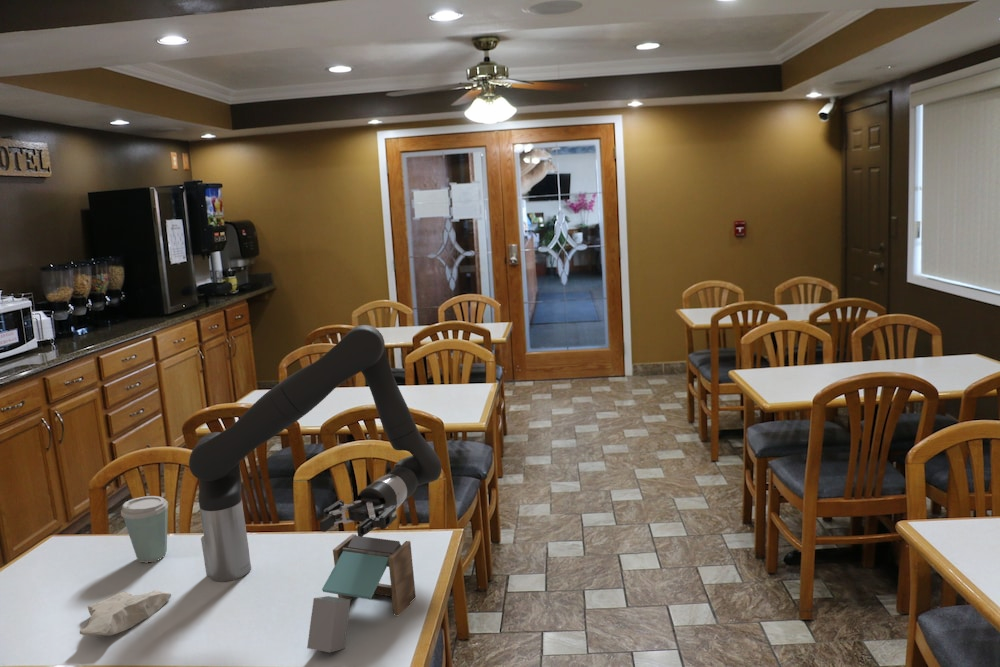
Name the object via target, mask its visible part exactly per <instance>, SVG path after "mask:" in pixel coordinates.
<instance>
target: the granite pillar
mask: <svg viewBox="0 0 1000 667" xmlns="http://www.w3.org/2000/svg"><path fill="white" fill-rule="evenodd" d="M350 605H351V600H350V599H344V598H338V596H337V597H336V596H329V595H326V596H319V597H314V598H313V602H312V607H311V617H310V625H309V630H308V631H309V632H308V638H307V645H306V646H307V647H306V648H307V649H309V650H315V651H321V652H325V653H326V652H327V653H333V652H337V651H340V650H344V649H345V647H346V646H345V645H346V638H347V637H346V636H347V632H348V631H347V630H348V621H349V614H350V613H349V612H350Z"/></svg>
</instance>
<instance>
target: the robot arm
mask: <svg viewBox="0 0 1000 667" xmlns="http://www.w3.org/2000/svg"><path fill="white" fill-rule="evenodd" d="M359 373H361V374H362V375H363V378H364V379H365V381H366V383H367V385H368V387H369V390H370V393H371V396H372V398H373V401H374V405H375V408H376V412H377V415H378V417H379V421H380V423H381V425H382V428H383V429H384V432H385V435H386V436H387V439H388V441H389V443H390V446H391V447H392V448H393V450H394V451H401V452H402V451H403V452H404V451H406V452H408V453H410V456H406V457H403V458H402V459H400V460H399V461H397V462H396V463H395V465H394V466H393V467H392V469H391V470H390V471H389V472H388V473H386V474H385V475H383V476H381V477H379V478H377V479H376V480H375V481H373V482H372V483H371V484H369V485H367V486H366V487H365V488H363V489H362V490H361V491H360V492H359V493H358V495H357V497H356V498H355V501H352V502H349V503H348V504H347V503H345V501H344V499H339V500H337V501H335V502H334V503H333V504H331V505H330V506H328V507H326V508H324V509H323V517H324V518H323V519H322V520H320V521H319V527H320V532H324V533H325V532H327V531H329V530H330V529H331V528H333V527H335V525H338V524H341V523H343V525H346V524H350V523H352V522H360V523H359V524H358V525H357V527H356V530H357V536H360V537H365V536H366V535H368V533H370V532H371V531H372V530H377V528H379V529H380V530H385V529H387V528H388V527H389V526H390V525H391V524H393V522H394V521H395V520H396V519H397V518H398V517H397V509H398V508H399V507H401V505H402V504H403V502H405V501H406V500H407V499H408V498H411V496H412V495H413V494H414V493H415V491H416V490H417V488H418V486H422V485H424V484H428V483H429V484H430V483H432V482H435V481H437V480H439V478H440V477H441V474H442V469H443V468H442V464H441V460H440V457H439V456H438V454H437V453H436V451H435V450H434V449H433V448H432V446H431V445H430V444H429V442H427V440H426V439H425V438H424V437H423V435H422V434H421V432H420V431H419V429H418V427H417V425H416V422H415V419H414V418H413V417H414V416H413V414H411V411H410V409H409V407H408V405H407V402H406V400H405V398H404V396H403V394H402V392H401V390H400V388H399V386H398V384H397V381H396V379H395V376H394V374H393V370H392V368H391V365H390V361H389V357H388V354H387V350H386V346H385V339H384V336H383V335H382V333H381V332H380V330H379V329H377V328H376V327H374V326H373V325H369V324H360V325H357V326H355V327H353V328H352V329H350V330H349V331H348V332H347V333H346V334H345V335H344V336H343V337H342V338H341V339H340V340H339V342H337V343H336V344H335V345H334V346H333V347H331V349H329V350H328V351H327V352H326V353H325V354H324V355H322V356H321V357H320V358H318V359H317V360H316V361H314V362H312V363H311V364H308V365H307V366H305V367H303V368H301V369H299V370H297V371H295V372H294V373H292V374H290V375H289V376H288V377H286V378H284V379H283V380H281V381H280V382H279V383H277V384H276V385H274V386H273V387H272V388H271V389H269V390H268V391H267V392H266V393H264V394H263V395H262V396H261V397H260V398H258V400H257V401H255V402H254V403H253V405H251V407H249V408H248V410H246V411H245V412H244V413H243V415H242V416H241V417H239V418H238V420H237V421H235V422H234V423H233V424H232V425H230V426H229V427H227V428H226V429H224V430H223V431H222V432H219V431H214V432H210V433H207V434H205V435H203V437H201V438H200V439H199V440H198V442H197V443H196V445H195V446H194V447H193V449H192V450H191V453H190V455H189V458H188V466H189V470H190V473H191V474H192V475H193V476H194V477H195V478H196V479H197V480H199V489H198V490H199V491H198V498H197V499H198V505H199V512H200V519H201V525H202V531H203V535H202V536H201V538H200V541H201V548H202V553H203V560H204V561H203V562H204V567H205V568H204V570H205V575H206V576H208V577H209V578H210V579H211V580H212V581H215V582H228V581H233V580H238V579H240V578H242V577H244V576H246V575H247V574H248V573H249V572H250V571H251V570H252V565H251V564H252V563H251V557H250V555H251V554H250V548H249V542H248V534H247V528H246V519H245V513H244V511H245V510H244V507H243V506H244V505H243V499H242V474H241V467H240V462H241V461H243V460H244V459H245V458H246V457H247V456H248V455H249V454H251V452H253V451H254V450H256V449H257V448H258V447H260V446H261V445H263V444H265V443H266V442H267V441H269V440H271V439H272V438H274V437H275V436H277V435H279V434H280V433H282V432H283V431H284V430H286V429H288V428H289V427H291V426H292V425H294V423H296V422H298V421H299V420H300V419H302V418H304V416H306V415H307V414H308V413H310V411H312V410H313V409H314V408H315V407H317V406H318V405H319V404H320V403H322V401H324V400H325V399H326V398H327V396H328V395H330V394H331V393H332V392H333V391H334V390H335V389H336V388H337V387H339V386H340V385H342V384H343V383H345V381H348V380H349V379H350V378H352V377H354V376H355V375H358V374H359ZM346 512H347V513H348V517H347V516H346ZM339 516H340V517H339ZM338 517H339V518H338Z"/></svg>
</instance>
